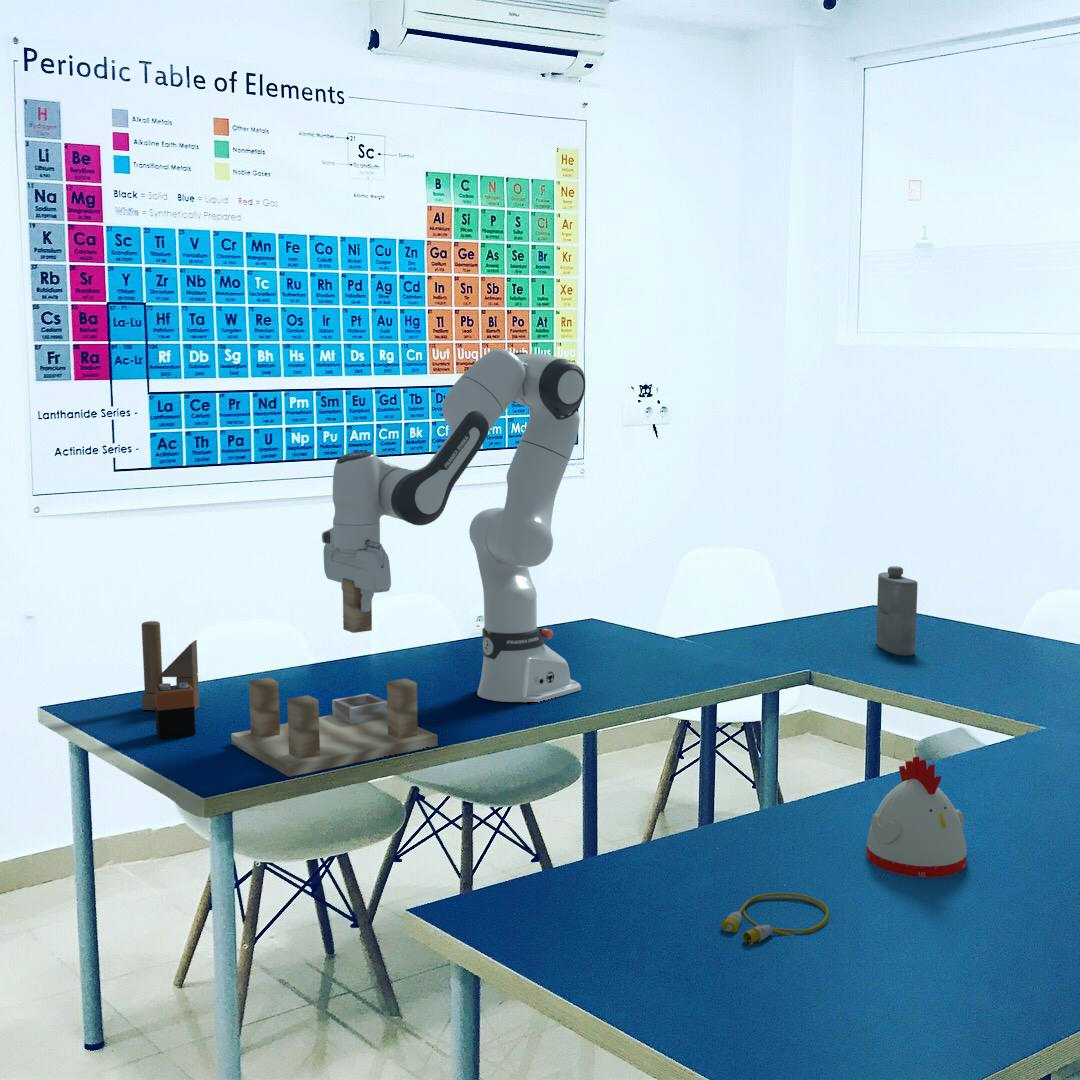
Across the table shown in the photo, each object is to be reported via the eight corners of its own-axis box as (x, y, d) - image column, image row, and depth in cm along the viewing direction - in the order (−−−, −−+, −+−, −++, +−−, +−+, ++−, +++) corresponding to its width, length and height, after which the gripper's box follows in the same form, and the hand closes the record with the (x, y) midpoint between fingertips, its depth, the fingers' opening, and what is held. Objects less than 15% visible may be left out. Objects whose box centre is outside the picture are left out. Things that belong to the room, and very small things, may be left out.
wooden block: (194, 712, 274) (190, 624, 271) (142, 711, 274) (137, 624, 271) (199, 707, 277) (196, 620, 275) (148, 706, 278) (144, 620, 275)
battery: (156, 733, 258) (153, 682, 257) (192, 729, 261) (190, 679, 260) (159, 740, 254) (157, 688, 253) (196, 735, 257) (194, 684, 256)
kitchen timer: (907, 884, 186) (911, 778, 184) (846, 849, 199) (849, 751, 196) (987, 868, 192) (991, 765, 189) (923, 836, 204) (927, 739, 202)
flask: (869, 642, 334) (872, 562, 331) (892, 641, 335) (894, 561, 332) (895, 656, 319) (897, 572, 316) (918, 655, 320) (921, 572, 317)
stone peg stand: (373, 717, 269) (372, 658, 267) (437, 745, 250) (436, 682, 248) (231, 743, 252) (229, 680, 250) (288, 776, 233) (286, 708, 231)
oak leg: (361, 626, 263) (361, 576, 262) (371, 630, 260) (371, 579, 258) (343, 629, 261) (342, 578, 259) (353, 633, 257) (352, 581, 256)
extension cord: (697, 911, 178) (697, 897, 178) (803, 895, 183) (803, 881, 183) (740, 950, 167) (740, 935, 167) (851, 932, 172) (852, 917, 172)
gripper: (398, 542, 251) (399, 615, 253) (346, 530, 268) (347, 599, 270) (369, 545, 248) (370, 619, 250) (317, 532, 264) (318, 602, 266)
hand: (357, 608), depth 260 cm, fingers closed on oak leg, 4 cm apart
